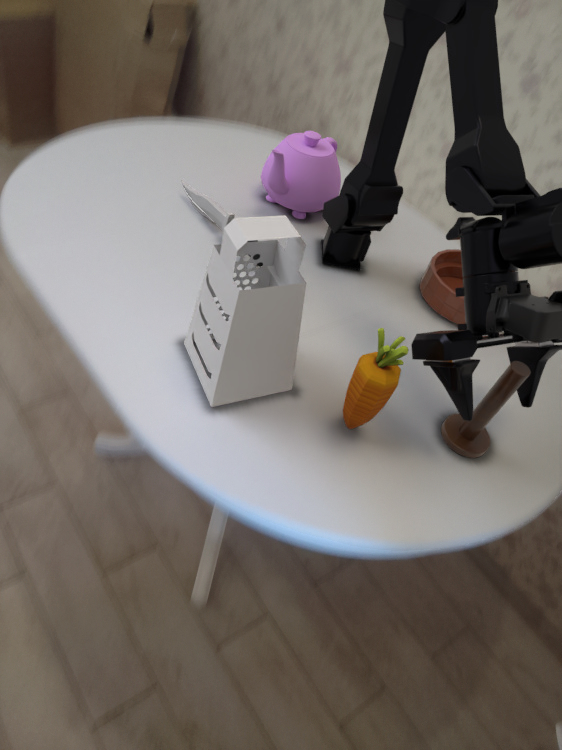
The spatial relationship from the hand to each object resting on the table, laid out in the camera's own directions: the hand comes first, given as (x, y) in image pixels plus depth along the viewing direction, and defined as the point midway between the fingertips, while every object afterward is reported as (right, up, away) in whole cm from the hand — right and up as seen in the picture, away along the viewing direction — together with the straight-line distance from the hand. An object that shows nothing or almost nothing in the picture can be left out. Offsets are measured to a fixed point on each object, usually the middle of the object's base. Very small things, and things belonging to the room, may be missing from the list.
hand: (498, 413), depth 58 cm
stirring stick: (-2, -3, +6) cm, 7 cm away
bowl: (+4, +16, +25) cm, 31 cm away
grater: (-30, +5, +6) cm, 31 cm away
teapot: (-23, +35, +35) cm, 55 cm away
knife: (-35, +27, +24) cm, 50 cm away
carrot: (-17, -2, +3) cm, 17 cm away
